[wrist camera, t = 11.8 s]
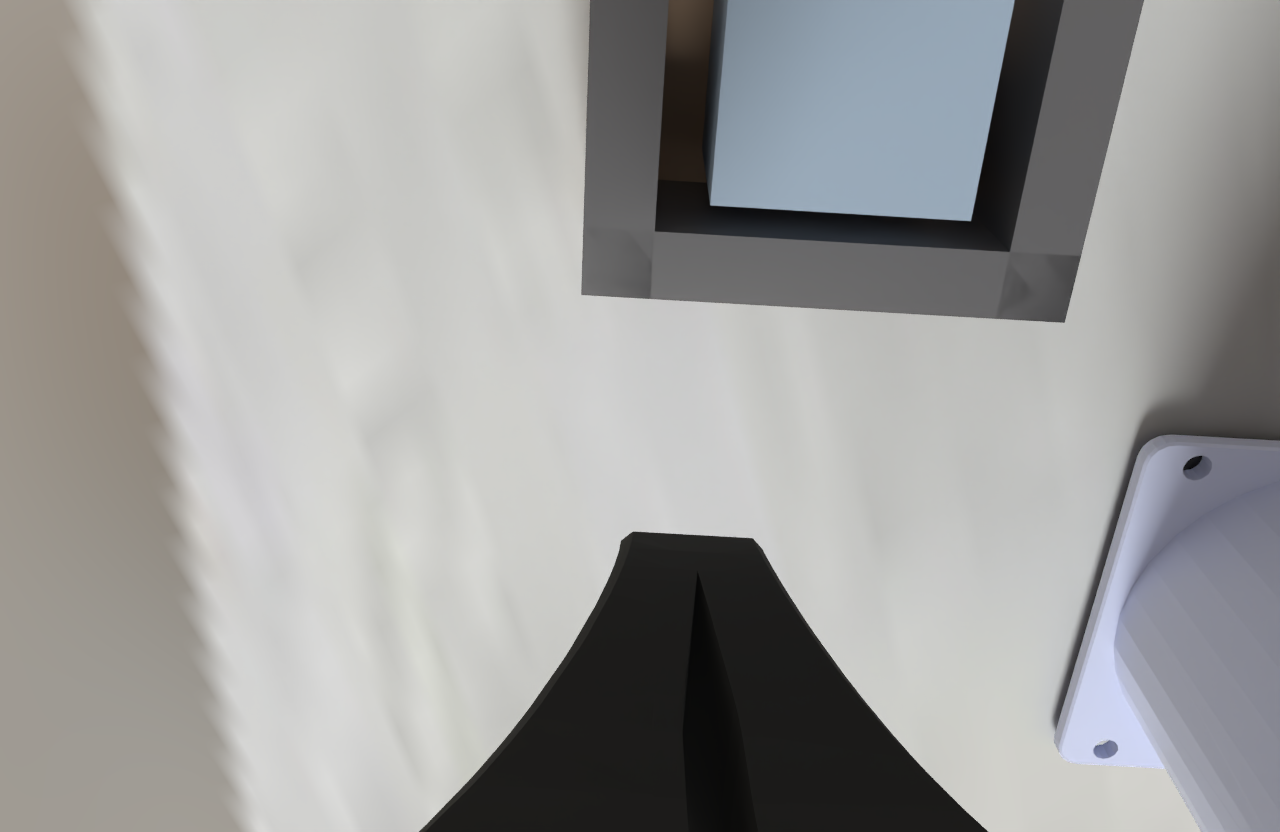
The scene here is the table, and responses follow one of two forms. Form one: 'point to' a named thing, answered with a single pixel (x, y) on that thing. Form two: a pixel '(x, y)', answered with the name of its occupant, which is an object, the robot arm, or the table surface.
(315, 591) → the table surface
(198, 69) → the table surface
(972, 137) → the blue-grey long block
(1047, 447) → the table surface
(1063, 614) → the table surface
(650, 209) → the bench frame
